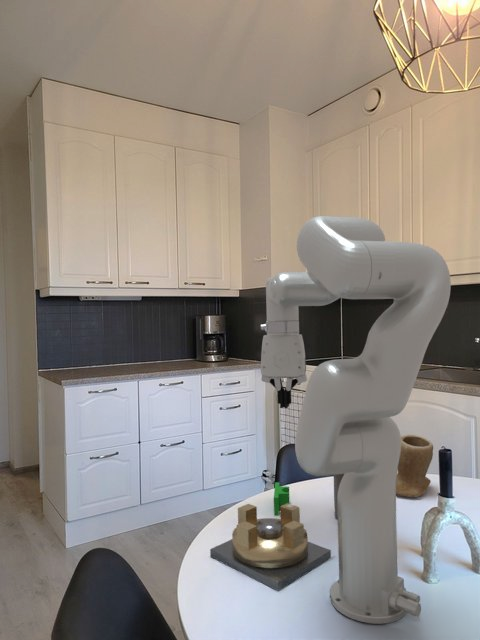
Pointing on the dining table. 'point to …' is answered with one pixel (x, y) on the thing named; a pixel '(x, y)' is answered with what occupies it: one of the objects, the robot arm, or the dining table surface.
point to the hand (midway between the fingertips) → (284, 406)
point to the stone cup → (413, 466)
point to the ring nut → (269, 538)
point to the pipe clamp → (280, 497)
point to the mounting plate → (272, 576)
